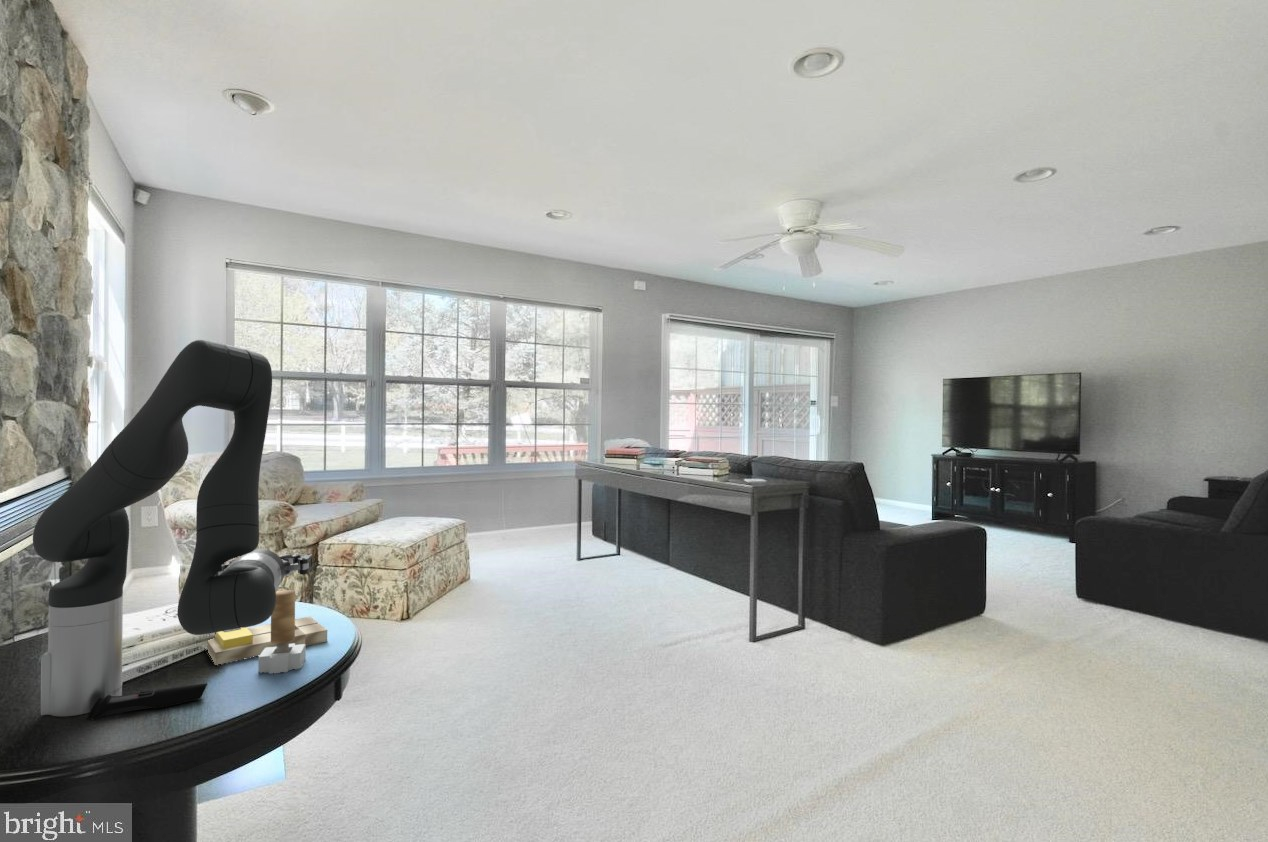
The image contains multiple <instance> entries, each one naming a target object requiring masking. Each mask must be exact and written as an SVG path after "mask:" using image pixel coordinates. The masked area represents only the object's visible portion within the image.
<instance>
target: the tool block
mask: <svg viewBox="0 0 1268 842" xmlns="http://www.w3.org/2000/svg"><path fill="white" fill-rule="evenodd" d="M306 648H307V646H306V644H300V645H295V643H293V644H289V652H287V653H277V647H266V648H265V649H264V650H263V651H262V653H261V654H260V656H258V660H257V661H258V665H257V666H258V670H257V671H258V674H262V672H264V673H268V674H269V675H271V674H273V673H274V674H281V673H280V672H284V673H288V671H291V670H292V669H295V670H300V668H302V667H303V665H304V663H305V661H306V656H307V655H306V651H307V649H306ZM259 672H260V673H259Z"/></svg>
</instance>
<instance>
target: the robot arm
mask: <svg viewBox="0 0 1268 842" xmlns="http://www.w3.org/2000/svg"><path fill="white" fill-rule="evenodd" d="M272 372H273V371H272V366H271V364H270V362H269V359H267V357H265V356H264V355H263V354H261V353H259V352H257V351H253V350H251V349H246V348H242V347H238V346H234V345H231V344H228V343H223V342H219V341H216V340H210V339H197V340H193V341H191V342H190V343H187V345H185V347H184V348H182V350H180V352H179V353H178V354H177V356H176V357H175V359H174V360H173V361H172V363H171V364H170V366H169V367H168V369H167V371H165V373H164V375H163V376H162V378H161V379H160V381H159V382H158V384H157V385H156V387H155V389H154V390H153V392H152V393H151V394H150V396H149V398H148V399H147V401H146V402H145V403H144V404H143V406H141V408H140V409H139V410H138V412H137V413H136V414H135V415H134V417H133V418H132V419H131V420H130V421H129V422H128V424H126V426H125V427H124V428H123V429H122V430H121V431H120V432H119V433H118V434H117V435H116V436H115V437H114V438H113V440H112V441H110V443H109V444H108V446H106V447H105V449H104V450H103V452H102V453H101V454H100V456H99V457H98V458H97V460H95V462H94V463H93V464H92V465H91V466H90V467H89V468H88V469H87V471H86V472H84V474H83V475H82V476H81V477H80V478H79V479H78V480H77V481H76V482H75V483H74V484H73V485H72V486H71V487H70V488H68V490H66V491H65V492H64V493H63V494H61V496H59V497H58V498H57V499H56V500H55V501H53V502H52V503H51V504H50V505H49V506H48V507H46V509H45V510H44V511H43V512H42V513H41V515H40V516H39V518H38V520H37V521H36V523H35V526H34V529H33V532H32V545H33V549H34V551H35V553H36V554H37V555H38V556H39V557H40V558H41V559H43V560H45V561H48V562H52V563H68V562H69V563H70V562H74V561H81V560H87V561H86V563H85V564H84V566H82V567H81V568H80V569H79V570H78V571H77V572H75V573H73V574H72V575H70V576H68V577H66V578H64V579H62V580H61V581H60V580H59V581H58V582H56V583H55V584H54V585H52V586H51V587H50V589H49V590H48V599H47V600H48V622H47V623H48V628H47V629H48V630H47V631H48V633H47V634H48V635H47V636H48V638H47V640H48V642H47V643H48V644H47V646H48V647H47V648H48V649H47V651H46V652H44V653H43V654H42V655H41V658H40V716H47V715H49V716H52V717H72V716H79V715H80V716H81V715H83V714H89V713H90V711H91V709H92V708H93V706H94V705H95V703H96V702H97V700H98V699H99V698H102V699H103V698H105V697H106V696H107V695H111V696H123V629H124V628H123V627H124V626H123V620H124V619H123V615H124V613H123V611H124V608H123V606H124V605H123V604H124V603H123V602H124V600H123V599H124V597H123V595H124V593H123V592H124V584H125V581H126V578H127V570H128V557H129V556H128V554H129V543H130V521H129V515H128V512H127V510H126V508H128V507H130V506H132V505H134V504H136V503H139V502H140V501H142V500H144V499H147V498H148V497H150V496H152V495H154V494H155V493H156V492H158V491H159V490H161V489H162V488H163V487H165V485H166V484H168V483H169V481H170V480H172V478H173V477H174V476H175V475H176V474H177V473H178V472H179V471H180V469H182V467H183V466H184V464H185V463H186V461H187V459H188V455H189V443H188V437H187V433H186V431H185V427H184V424H183V417H185V415H186V414H187V413H188V412H189V411H190V410H191V409H193V408H196V407H199V406H200V407H207V408H213V409H220V410H223V411H224V410H225V411H230V412H233V419H234V426H233V433H232V435H231V437H230V441H229V442H228V444H227V446H226V448H225V449H224V450H223V452H222V453H221V455H220V456H219V457H218V458H217V460H216V462H215V463H214V464H213V465H212V467H211V468H210V470H209V471H208V472H207V474H206V475H205V477H204V478H203V479H202V480H203V481H202V482H201V484H200V487H199V490H198V492H197V493H198V494H197V498H196V523H195V524H196V526H195V527H196V529H195V530H196V533H195V534H196V535H195V539H196V540H195V547H194V552H193V555H192V556H193V557H192V559H191V565H190V568H189V570H188V573H187V577H186V579H185V581H184V582H185V583H184V584H183V587H182V590H181V593H180V596H179V600H178V604H177V610H176V611H177V619H178V622H179V624H180V626H181V627H182V629H183V630H184V631H186V632H187V633H188V634H189V635H195V636H200V635H201V636H203V635H209V634H210V635H211V634H215V632H220V631H226V630H232V629H238V628H244V627H246V628H251V627H256V626H259V625H260V624H262V623H264V622H266V621H267V620H269V618H271V615H272V613H273V611H274V608H275V604H276V592H277V591H276V590H277V589H278V588H279V586H280V585H281V584H282V582H283V580H284V578H285V577H286V576H289V575H290V576H291V575H292V574H293V572H294V571H297V573H298V574H299V575H302V576H305V575H307V574H309V572H310V571H311V570H313V569H314V567H313V566H314V564H313V563H314V562H313V559H314V558H313V557H314V555H313V553H306V554H303V553H302V554H301V553H300V551H299V552H294V553H293V555H292V553H291V554H290V553H289V554H288V553H286V554H284V553H283V554H280V555H279V554H277V553H276V552H274V551H271V550H269V549H263V548H258V546H259V543H260V508H259V507H260V506H259V489H260V488H259V487H260V486H259V485H260V483H259V482H260V472H261V471H260V470H261V464H262V457H263V451H264V446H265V440H266V436H267V435H266V434H267V427H268V419H269V413H270V406H271V399H272V391H273V373H272ZM257 548H258V549H257ZM235 558H236V559H235ZM228 561H229V563H226V562H228Z"/></svg>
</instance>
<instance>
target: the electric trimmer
mask: <svg viewBox="0 0 1268 842" xmlns="http://www.w3.org/2000/svg"><path fill="white" fill-rule="evenodd" d="M207 685H208V683H207V682H206V683H198V684H191V685H184V686H182V685H181V686H176V687H175V686H174V687H169V688H160V689H155V690H149V691H148V690H147V691H140V692H137V693H130V694H122V696H111V695H107V696H106V697H105V698H103V699H102V698H99V699H98V700H97V702H96V703H95V705H94V706H93V708H92V709H91V711H90V712H89V713H88V716H87V717H86V720H91V721H95V720H96V719H97V718H99V717H104V716H109V715H114V714H121V713H127V712H133V711H138V710H139V711H140V710H146V709H154V710H157V709H161V708H162V709H163V708H166V707H171V706H176V705H178V704H179V705H180V704H182V703H187V702H191V701H192V702H193V701H196V700H199V699H202V696H203V694H204V692H205V690H206V688H207Z"/></svg>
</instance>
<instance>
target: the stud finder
mask: <svg viewBox="0 0 1268 842" xmlns="http://www.w3.org/2000/svg"><path fill="white" fill-rule="evenodd" d="M247 628H248V627H244V628H238V629H232V630H226V631H220V632H216V635H215V638H216V639H217V641H218V642H219V643H220V645H221V646H222V648H223V649H224V648H229V647H234V646H239V645H244V644H249V643H253V634H252V633H251V632H250V631H249V630H248V629H247Z"/></svg>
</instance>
